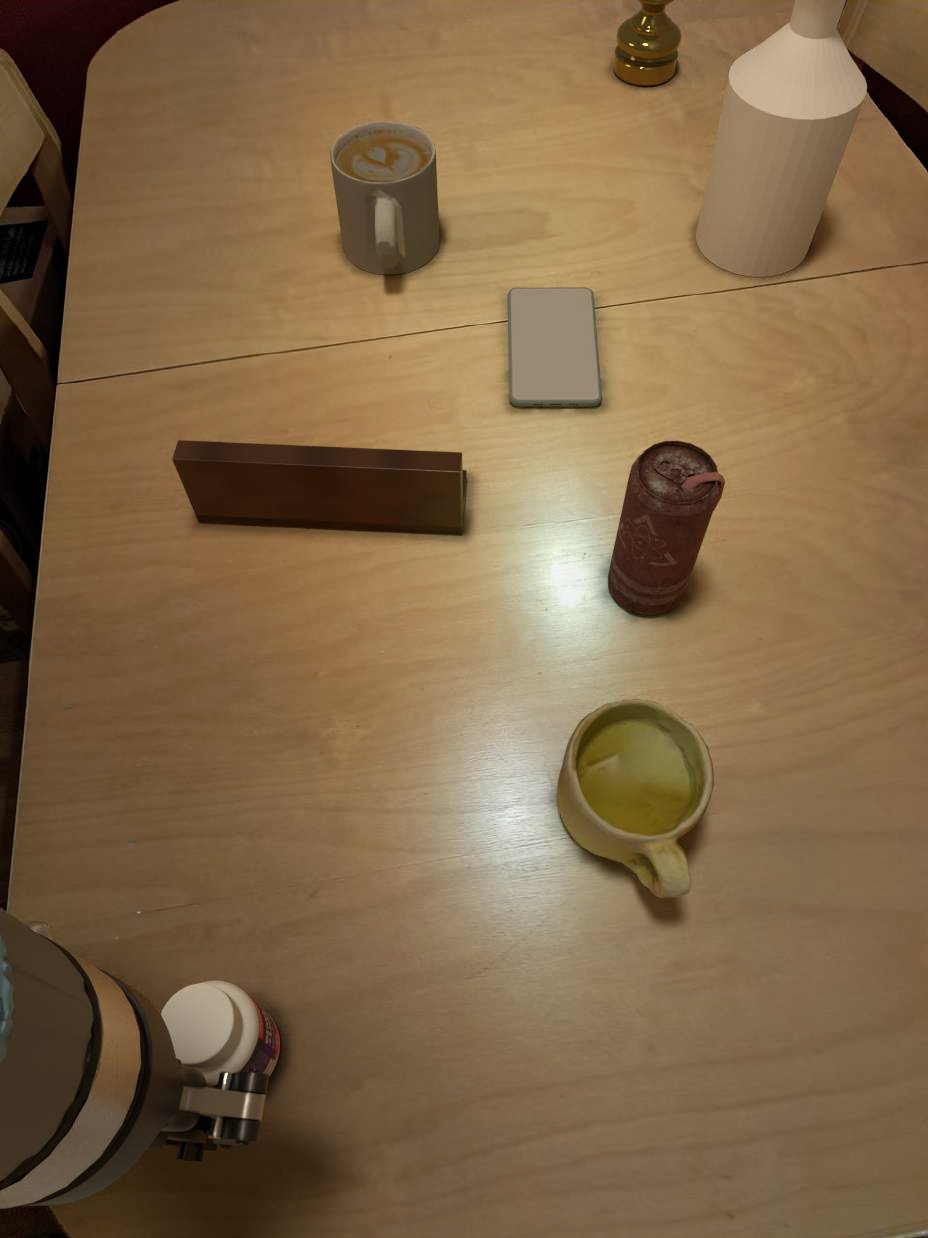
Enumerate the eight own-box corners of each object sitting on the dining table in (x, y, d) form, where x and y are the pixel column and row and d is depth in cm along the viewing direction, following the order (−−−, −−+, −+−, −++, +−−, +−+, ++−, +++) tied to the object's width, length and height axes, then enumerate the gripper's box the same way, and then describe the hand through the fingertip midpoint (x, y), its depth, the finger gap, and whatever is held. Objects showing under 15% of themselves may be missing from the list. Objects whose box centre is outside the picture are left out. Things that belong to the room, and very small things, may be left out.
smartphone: (509, 401, 84) (507, 286, 91) (509, 409, 84) (507, 294, 92) (603, 401, 83) (593, 286, 91) (601, 409, 84) (592, 294, 92)
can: (692, 617, 73) (734, 505, 61) (610, 618, 73) (636, 506, 61) (682, 553, 76) (720, 434, 64) (603, 554, 76) (627, 436, 64)
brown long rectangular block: (198, 523, 78) (171, 459, 71) (213, 467, 81) (188, 401, 74) (462, 535, 77) (460, 472, 70) (466, 478, 80) (465, 412, 73)
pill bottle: (299, 1046, 57) (268, 1018, 49) (232, 1120, 55) (188, 1105, 47) (241, 984, 59) (202, 947, 51) (174, 1053, 57) (121, 1027, 49)
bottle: (703, 280, 93) (770, 9, 71) (684, 205, 99) (741, -65, 78) (822, 276, 93) (925, 4, 72) (796, 201, 99) (883, -70, 78)
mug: (522, 724, 66) (582, 686, 57) (652, 732, 69) (728, 697, 60) (529, 905, 62) (594, 895, 53) (667, 905, 65) (751, 896, 56)
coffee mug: (354, 208, 99) (343, 116, 91) (447, 216, 99) (444, 124, 90) (324, 292, 93) (309, 201, 84) (423, 302, 92) (418, 211, 83)
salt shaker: (605, 57, 114) (616, -35, 105) (664, 50, 115) (680, -42, 106) (621, 90, 110) (634, -2, 102) (682, 83, 111) (700, -9, 102)
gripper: (247, 973, 33) (335, 1057, 53) (-109, 945, 34) (111, 1039, 54) (200, 1225, 29) (314, 1213, 49) (-201, 1188, 30) (72, 1191, 50)
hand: (208, 1122), depth 52 cm, fingers closed
